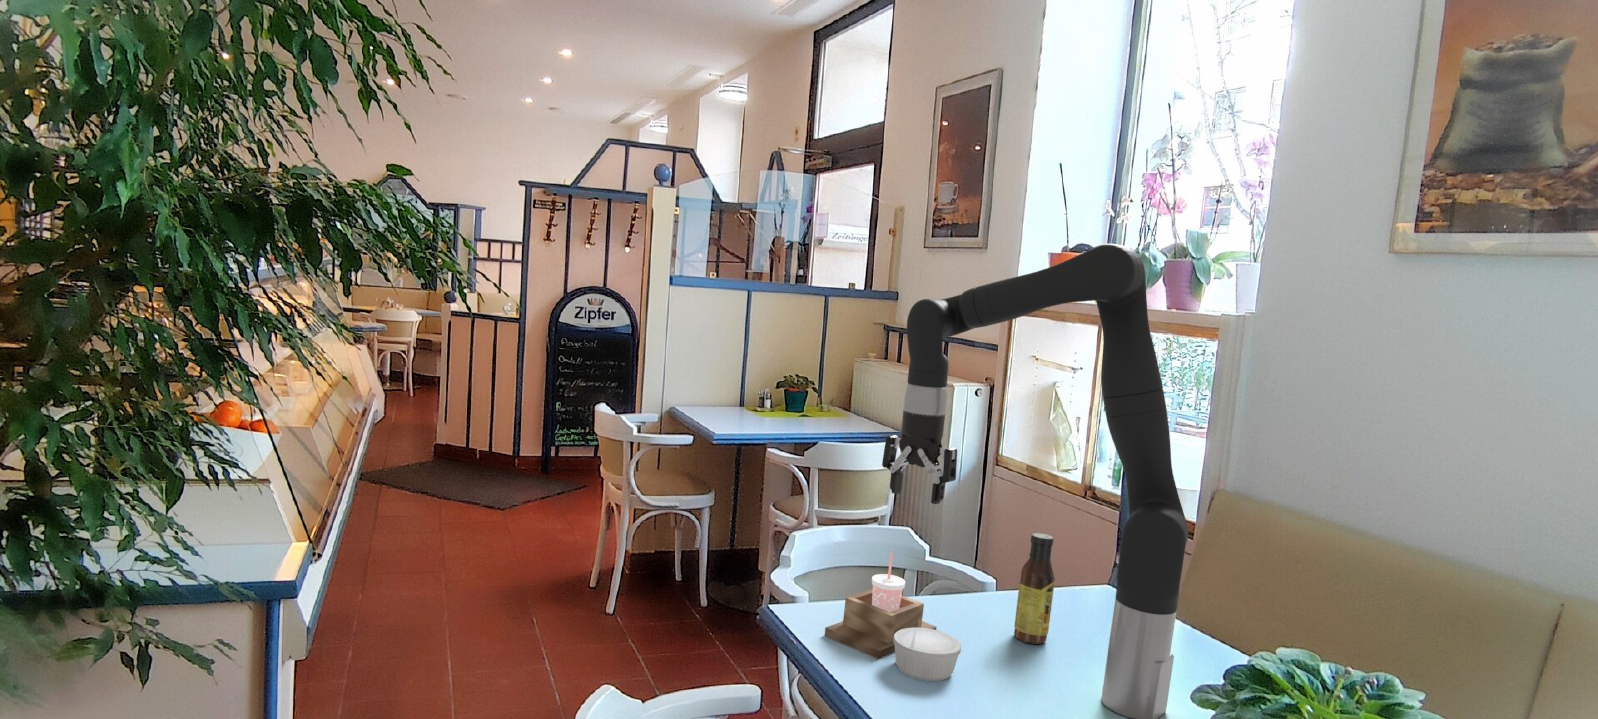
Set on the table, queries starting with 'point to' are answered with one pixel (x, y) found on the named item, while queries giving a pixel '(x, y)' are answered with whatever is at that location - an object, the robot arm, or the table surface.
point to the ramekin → (926, 653)
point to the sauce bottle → (1035, 592)
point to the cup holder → (875, 624)
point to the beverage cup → (887, 590)
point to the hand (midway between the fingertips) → (915, 498)
